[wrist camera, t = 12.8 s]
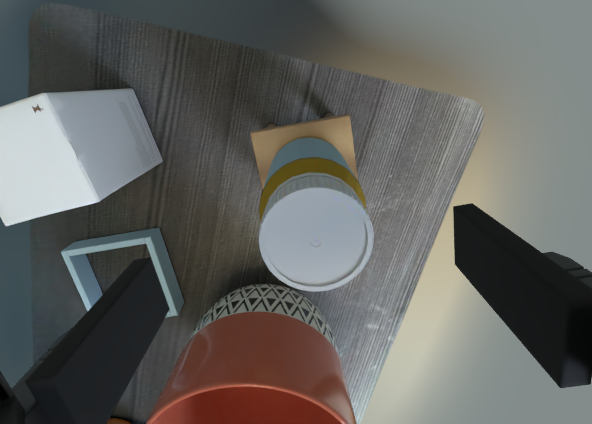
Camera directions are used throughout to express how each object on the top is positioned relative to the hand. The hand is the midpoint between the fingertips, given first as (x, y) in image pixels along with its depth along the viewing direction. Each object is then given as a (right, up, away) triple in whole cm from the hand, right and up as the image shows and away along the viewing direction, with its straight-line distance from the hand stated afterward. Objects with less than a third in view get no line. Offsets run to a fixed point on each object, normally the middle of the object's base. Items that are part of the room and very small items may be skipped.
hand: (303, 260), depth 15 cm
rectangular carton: (-22, +11, +26) cm, 36 cm away
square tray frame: (-23, -6, +33) cm, 40 cm away
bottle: (+1, +6, +18) cm, 19 cm away
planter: (-4, -13, +35) cm, 37 cm away
